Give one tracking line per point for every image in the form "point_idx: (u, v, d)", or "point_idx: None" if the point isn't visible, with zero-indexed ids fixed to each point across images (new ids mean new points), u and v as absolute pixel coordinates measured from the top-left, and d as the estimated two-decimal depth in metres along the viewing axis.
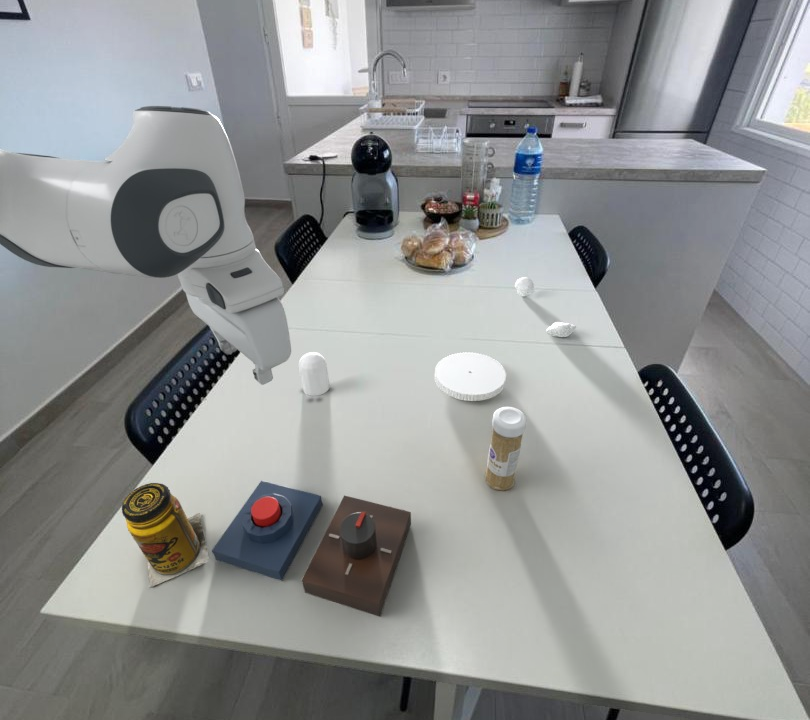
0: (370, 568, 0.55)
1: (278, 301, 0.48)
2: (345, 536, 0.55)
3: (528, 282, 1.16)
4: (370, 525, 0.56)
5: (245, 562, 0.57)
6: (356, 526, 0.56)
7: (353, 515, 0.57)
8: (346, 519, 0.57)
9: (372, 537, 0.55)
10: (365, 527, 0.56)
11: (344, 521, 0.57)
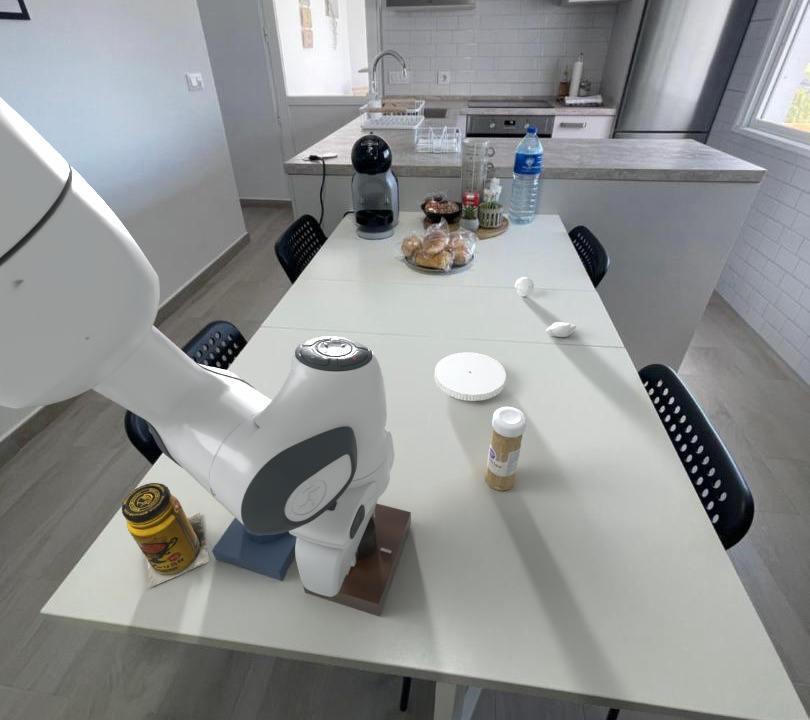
0: (370, 568, 0.55)
1: (338, 551, 0.43)
2: None
3: (528, 282, 1.16)
4: (370, 525, 0.56)
5: (245, 562, 0.57)
6: None
7: None
8: None
9: (372, 537, 0.55)
10: None
11: None
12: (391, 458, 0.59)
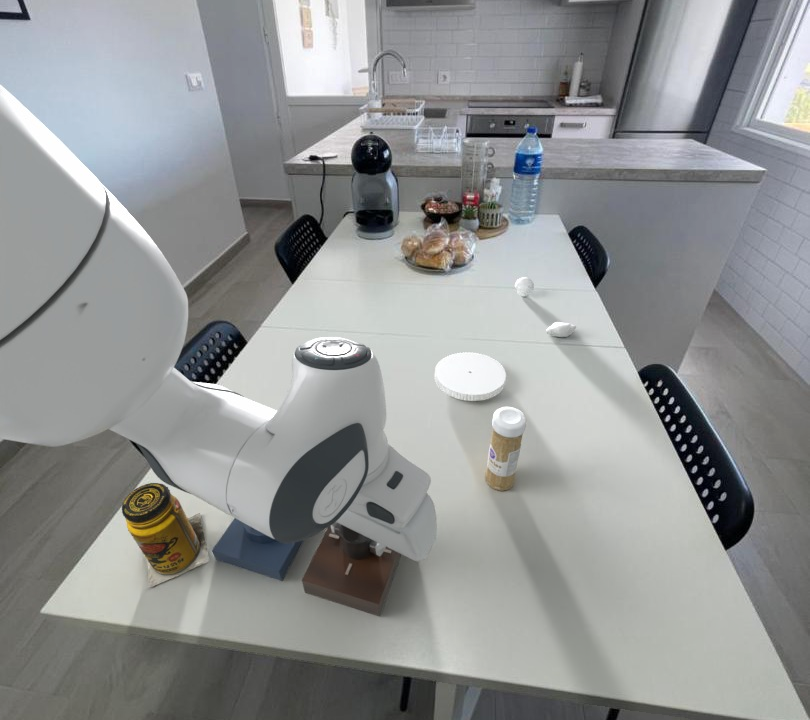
0: (370, 568, 0.55)
1: (426, 494, 0.49)
2: (363, 538, 0.54)
3: (528, 282, 1.16)
4: None
5: (245, 562, 0.57)
6: None
7: (342, 529, 0.56)
8: (344, 536, 0.55)
9: None
10: None
11: (346, 538, 0.55)
12: None
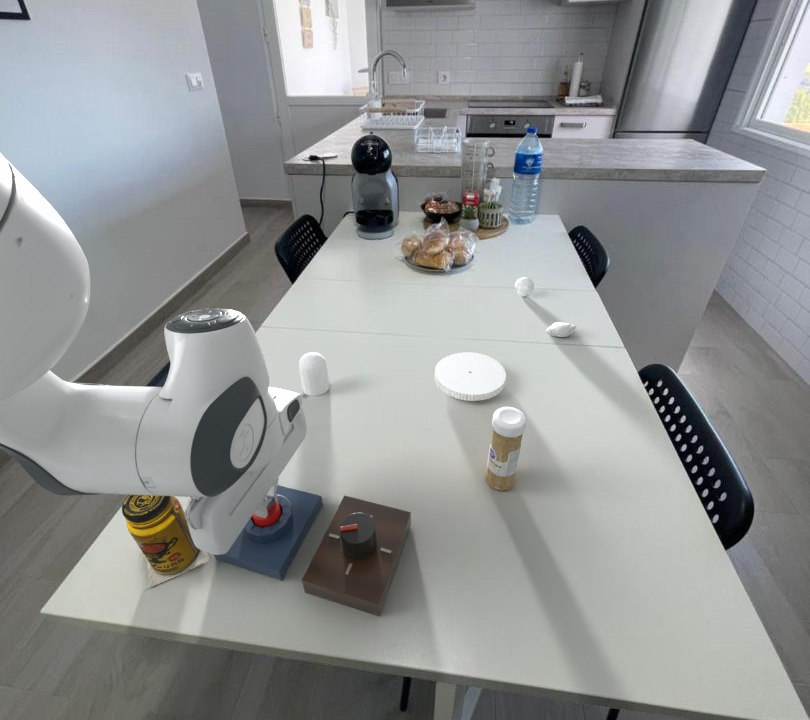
0: (370, 568, 0.55)
1: None
2: (370, 532, 0.55)
3: (528, 282, 1.16)
4: (350, 518, 0.57)
5: (245, 562, 0.57)
6: (357, 528, 0.56)
7: (346, 537, 0.55)
8: (353, 541, 0.54)
9: None
10: (354, 521, 0.57)
11: (356, 541, 0.54)
12: None
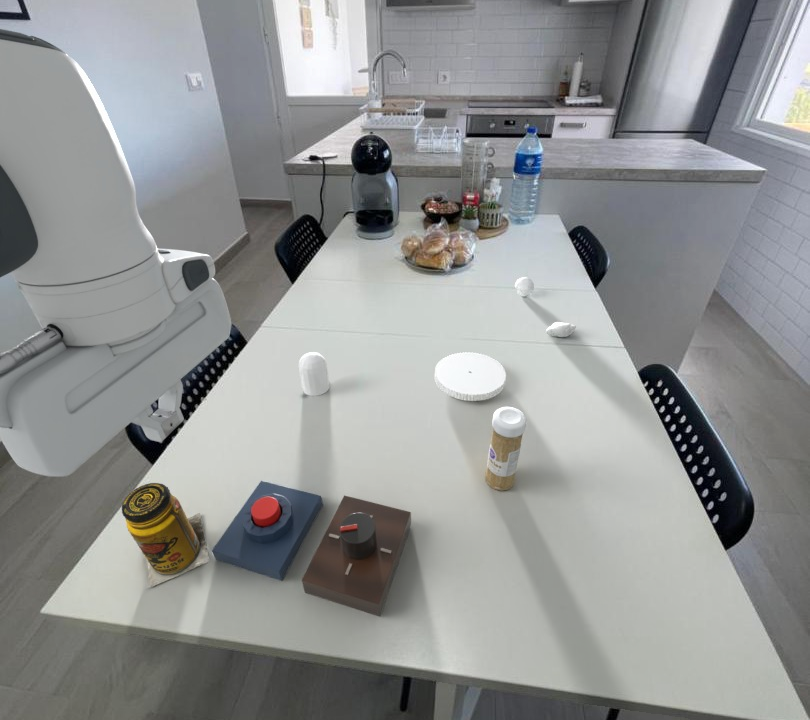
0: (370, 568, 0.55)
1: None
2: (370, 532, 0.55)
3: (528, 282, 1.16)
4: (350, 518, 0.57)
5: (245, 562, 0.57)
6: (357, 528, 0.56)
7: (346, 537, 0.55)
8: (353, 541, 0.54)
9: None
10: (354, 521, 0.57)
11: (356, 541, 0.54)
12: None
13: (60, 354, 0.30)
